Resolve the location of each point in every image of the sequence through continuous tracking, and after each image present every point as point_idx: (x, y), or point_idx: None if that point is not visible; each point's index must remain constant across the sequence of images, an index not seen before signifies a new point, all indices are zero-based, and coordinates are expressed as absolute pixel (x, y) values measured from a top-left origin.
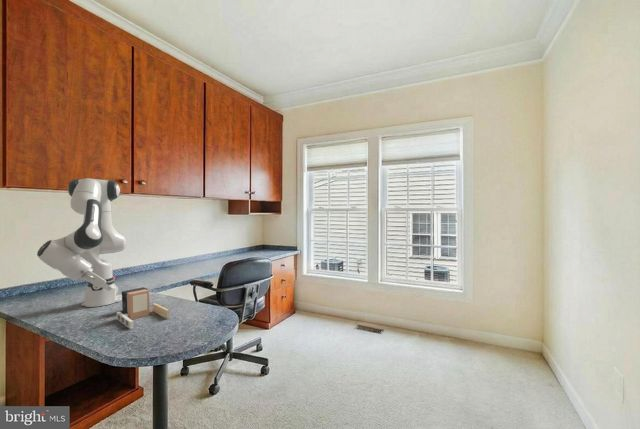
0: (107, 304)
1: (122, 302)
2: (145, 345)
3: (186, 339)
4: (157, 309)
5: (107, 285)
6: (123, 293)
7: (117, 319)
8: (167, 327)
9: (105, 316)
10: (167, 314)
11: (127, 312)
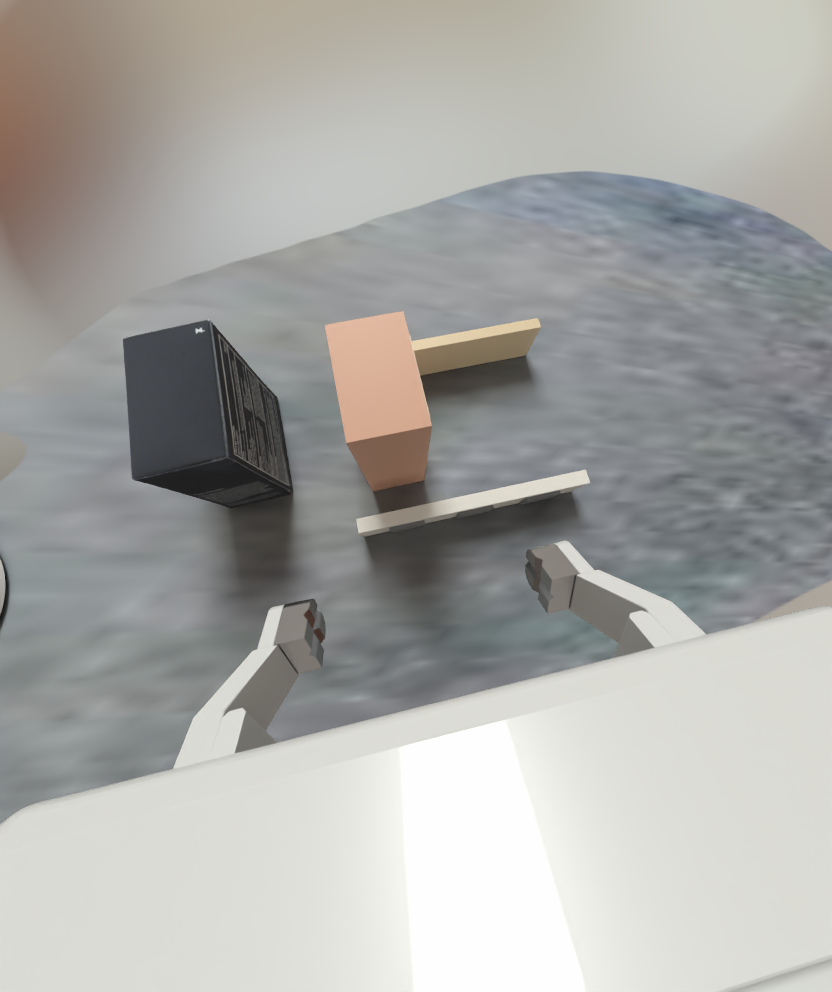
0: (3, 576)
1: (206, 495)
2: (798, 457)
3: (806, 340)
4: (417, 362)
5: (627, 588)
6: (187, 471)
7: (374, 534)
8: (638, 370)
9: (264, 586)
10: (532, 339)
11: (291, 487)
